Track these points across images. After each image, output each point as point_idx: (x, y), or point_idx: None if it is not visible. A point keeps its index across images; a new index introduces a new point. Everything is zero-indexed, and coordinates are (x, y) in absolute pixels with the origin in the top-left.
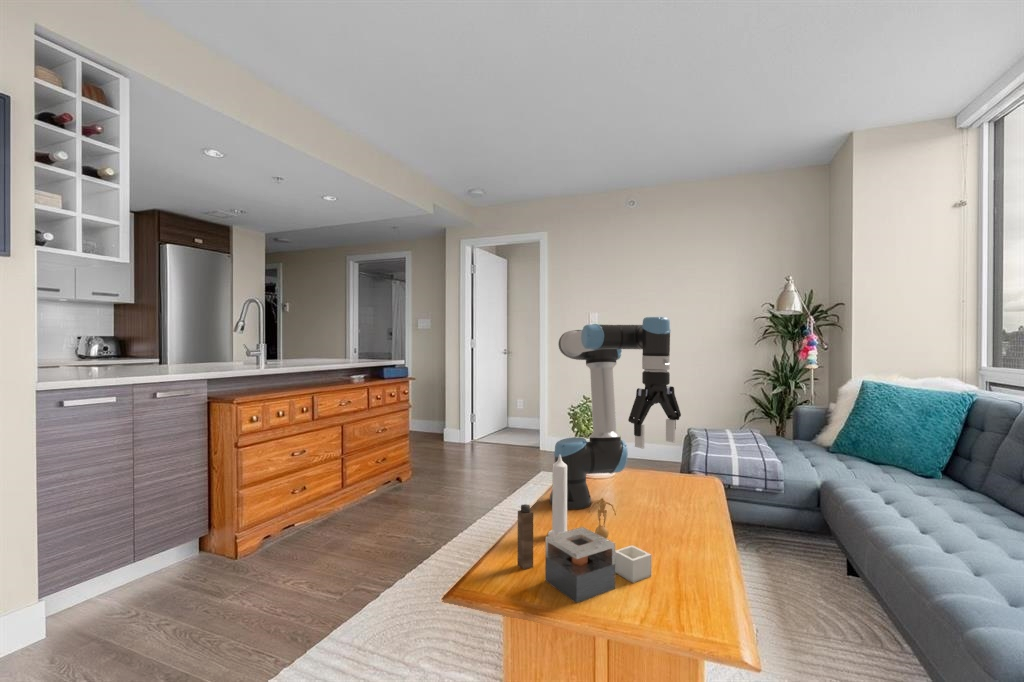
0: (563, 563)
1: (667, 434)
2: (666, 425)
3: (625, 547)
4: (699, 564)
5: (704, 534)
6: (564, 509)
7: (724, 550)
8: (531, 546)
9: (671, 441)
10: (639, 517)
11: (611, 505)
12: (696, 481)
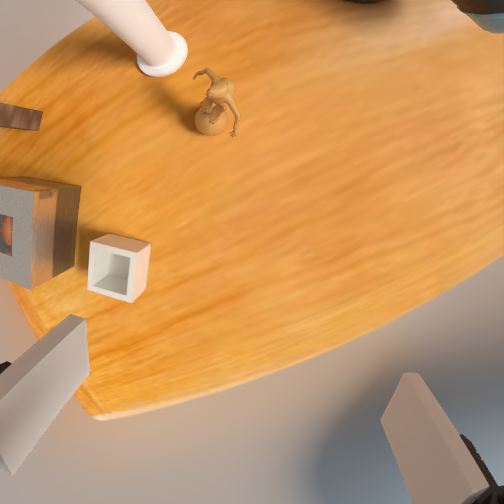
0: (4, 215)
1: (416, 413)
2: (448, 454)
3: (118, 248)
4: (254, 329)
5: (401, 276)
6: (135, 46)
7: (348, 335)
8: (14, 127)
9: (387, 412)
10: (398, 120)
11: (235, 115)
12: None
